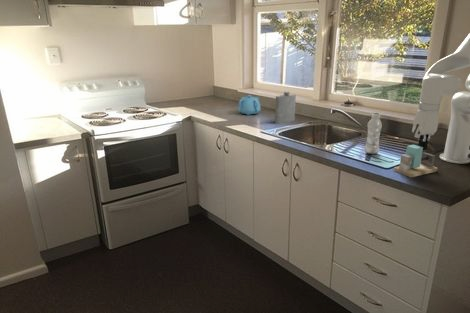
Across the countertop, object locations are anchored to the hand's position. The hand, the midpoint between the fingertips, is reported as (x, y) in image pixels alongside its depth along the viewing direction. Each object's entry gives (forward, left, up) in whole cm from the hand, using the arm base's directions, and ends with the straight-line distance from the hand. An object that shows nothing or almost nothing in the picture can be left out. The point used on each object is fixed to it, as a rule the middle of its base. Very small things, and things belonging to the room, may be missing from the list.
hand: (422, 149), depth 156 cm
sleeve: (+5, 0, -7) cm, 8 cm away
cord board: (+2, 0, -9) cm, 10 cm away
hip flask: (+2, -101, -10) cm, 101 cm away
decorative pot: (+11, -135, -10) cm, 136 cm away
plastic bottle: (+1, -26, -10) cm, 28 cm away
